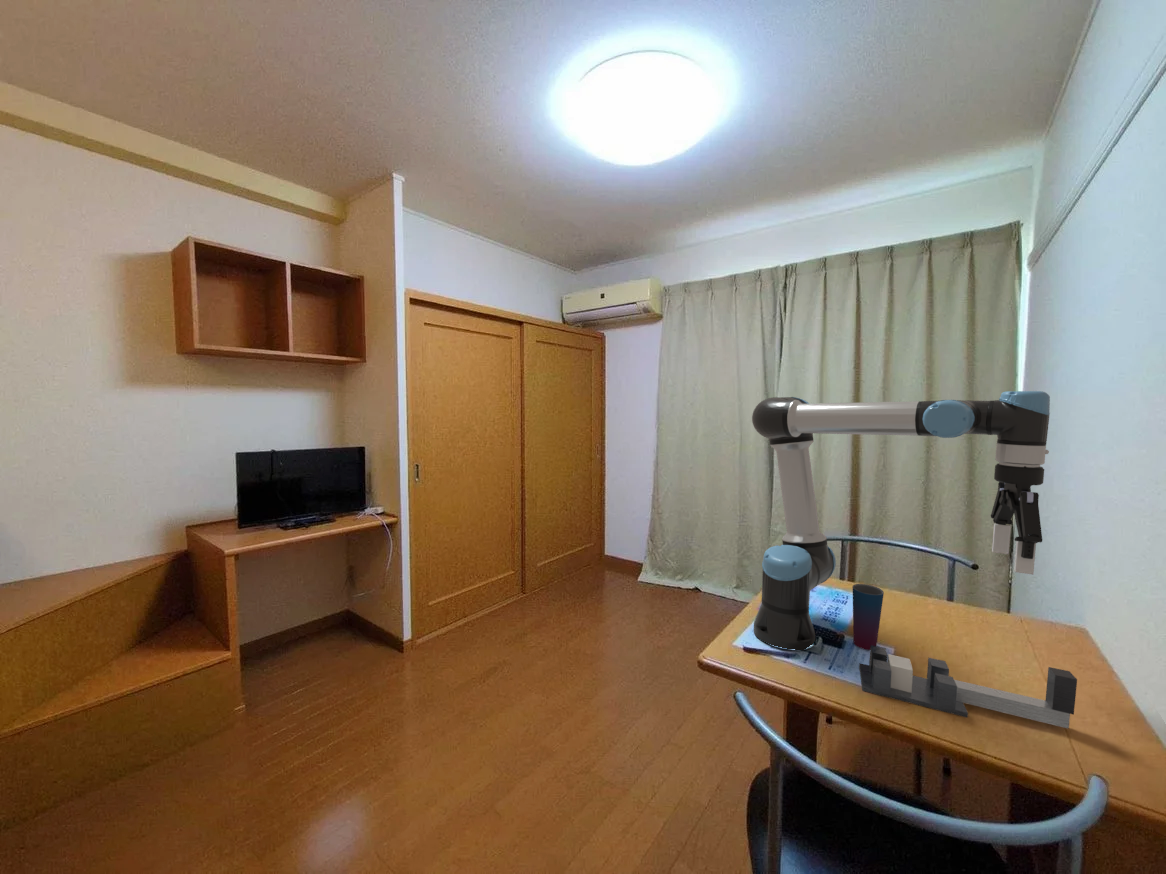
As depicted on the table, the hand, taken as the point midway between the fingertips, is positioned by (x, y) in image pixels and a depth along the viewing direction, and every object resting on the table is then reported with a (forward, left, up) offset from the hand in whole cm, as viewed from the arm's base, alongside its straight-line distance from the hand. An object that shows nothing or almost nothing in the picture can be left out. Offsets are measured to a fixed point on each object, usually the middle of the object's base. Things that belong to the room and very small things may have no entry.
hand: (1011, 562), depth 97 cm
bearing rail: (-18, -10, -29) cm, 35 cm away
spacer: (-20, -10, -25) cm, 34 cm away
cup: (-25, +7, -29) cm, 39 cm away
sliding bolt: (-3, -10, -28) cm, 30 cm away
